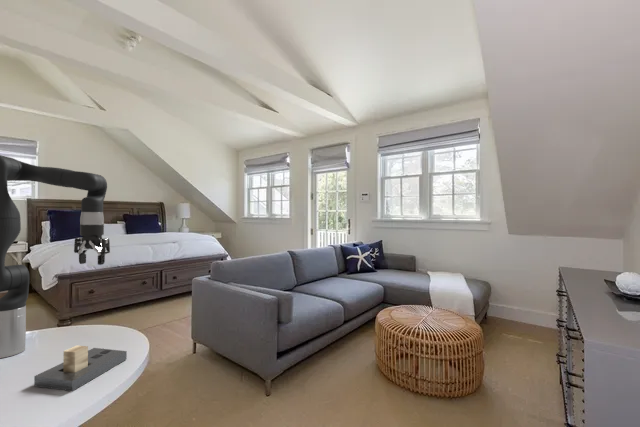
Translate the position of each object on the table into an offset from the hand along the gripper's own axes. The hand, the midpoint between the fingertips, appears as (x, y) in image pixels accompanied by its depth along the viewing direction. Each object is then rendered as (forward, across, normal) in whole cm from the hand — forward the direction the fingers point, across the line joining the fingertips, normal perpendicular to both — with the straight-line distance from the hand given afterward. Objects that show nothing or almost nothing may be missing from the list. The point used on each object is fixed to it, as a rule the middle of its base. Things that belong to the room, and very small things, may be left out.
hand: (91, 264), depth 119 cm
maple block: (+33, +15, -19) cm, 41 cm away
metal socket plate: (+33, +15, -16) cm, 40 cm away
